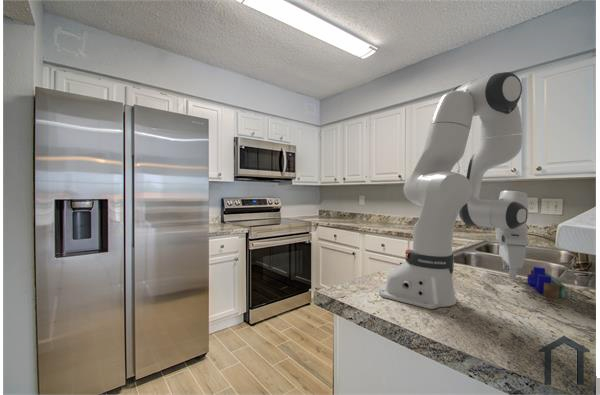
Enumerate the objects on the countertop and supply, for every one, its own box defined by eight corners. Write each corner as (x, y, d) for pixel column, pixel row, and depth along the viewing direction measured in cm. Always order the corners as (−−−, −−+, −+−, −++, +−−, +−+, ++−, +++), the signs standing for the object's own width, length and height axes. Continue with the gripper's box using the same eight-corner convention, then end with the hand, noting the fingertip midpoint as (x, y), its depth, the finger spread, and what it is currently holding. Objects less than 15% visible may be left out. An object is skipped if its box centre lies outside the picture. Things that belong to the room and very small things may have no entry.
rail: (544, 296, 90) (545, 283, 90) (529, 279, 106) (529, 268, 106) (564, 299, 88) (565, 286, 88) (545, 281, 104) (545, 270, 104)
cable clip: (527, 282, 104) (528, 266, 104) (543, 284, 101) (544, 268, 101) (532, 292, 94) (533, 274, 94) (550, 295, 91) (551, 277, 91)
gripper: (495, 231, 112) (493, 265, 112) (506, 239, 93) (504, 281, 94) (515, 232, 109) (513, 268, 109) (530, 241, 90) (528, 284, 91)
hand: (509, 274), depth 102 cm, fingers open, 8 cm apart
